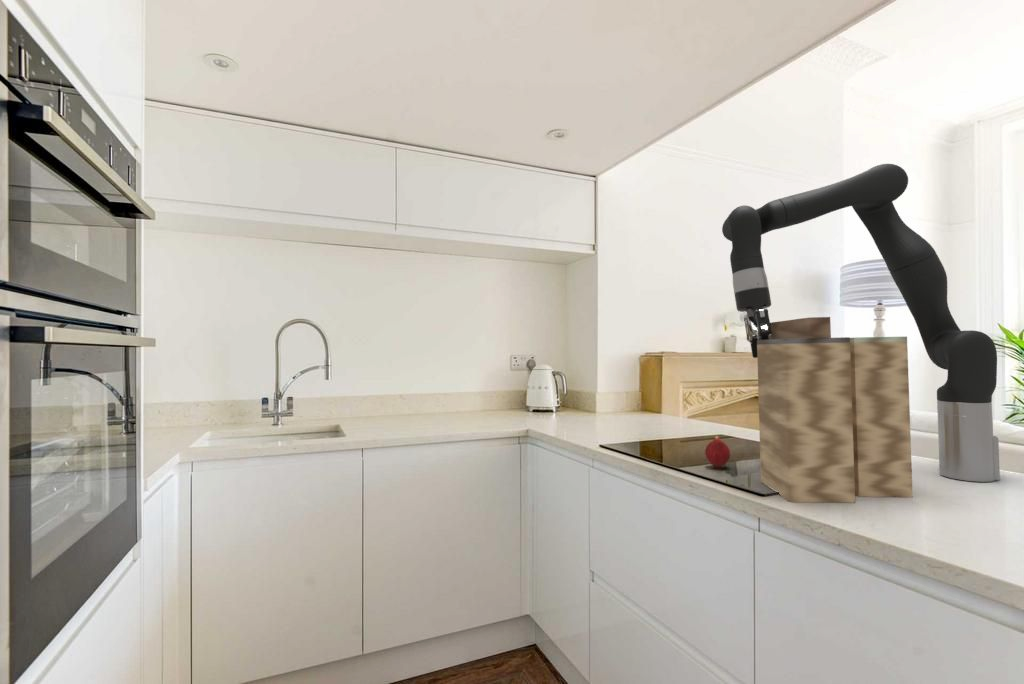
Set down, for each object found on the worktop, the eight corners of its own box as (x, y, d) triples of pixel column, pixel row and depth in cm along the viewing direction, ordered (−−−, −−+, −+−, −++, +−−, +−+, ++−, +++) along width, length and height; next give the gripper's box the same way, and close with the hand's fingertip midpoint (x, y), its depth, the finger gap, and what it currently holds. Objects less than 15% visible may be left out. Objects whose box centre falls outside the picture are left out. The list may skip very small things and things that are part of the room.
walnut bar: (776, 340, 119) (776, 323, 119) (830, 337, 95) (830, 317, 95) (759, 340, 119) (758, 324, 119) (809, 338, 95) (808, 317, 95)
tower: (868, 478, 112) (864, 338, 112) (912, 497, 98) (907, 336, 98) (822, 478, 113) (817, 339, 113) (859, 496, 99) (853, 337, 99)
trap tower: (817, 483, 109) (813, 339, 110) (855, 502, 95) (849, 337, 96) (761, 482, 110) (756, 340, 111) (790, 501, 96) (785, 338, 97)
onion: (732, 471, 121) (732, 438, 121) (708, 470, 122) (707, 438, 122) (727, 465, 127) (726, 434, 127) (703, 464, 128) (703, 434, 128)
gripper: (775, 281, 110) (787, 352, 109) (761, 292, 124) (771, 356, 122) (739, 286, 112) (751, 356, 110) (729, 297, 126) (739, 360, 124)
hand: (761, 356), depth 116 cm, fingers open, 8 cm apart
